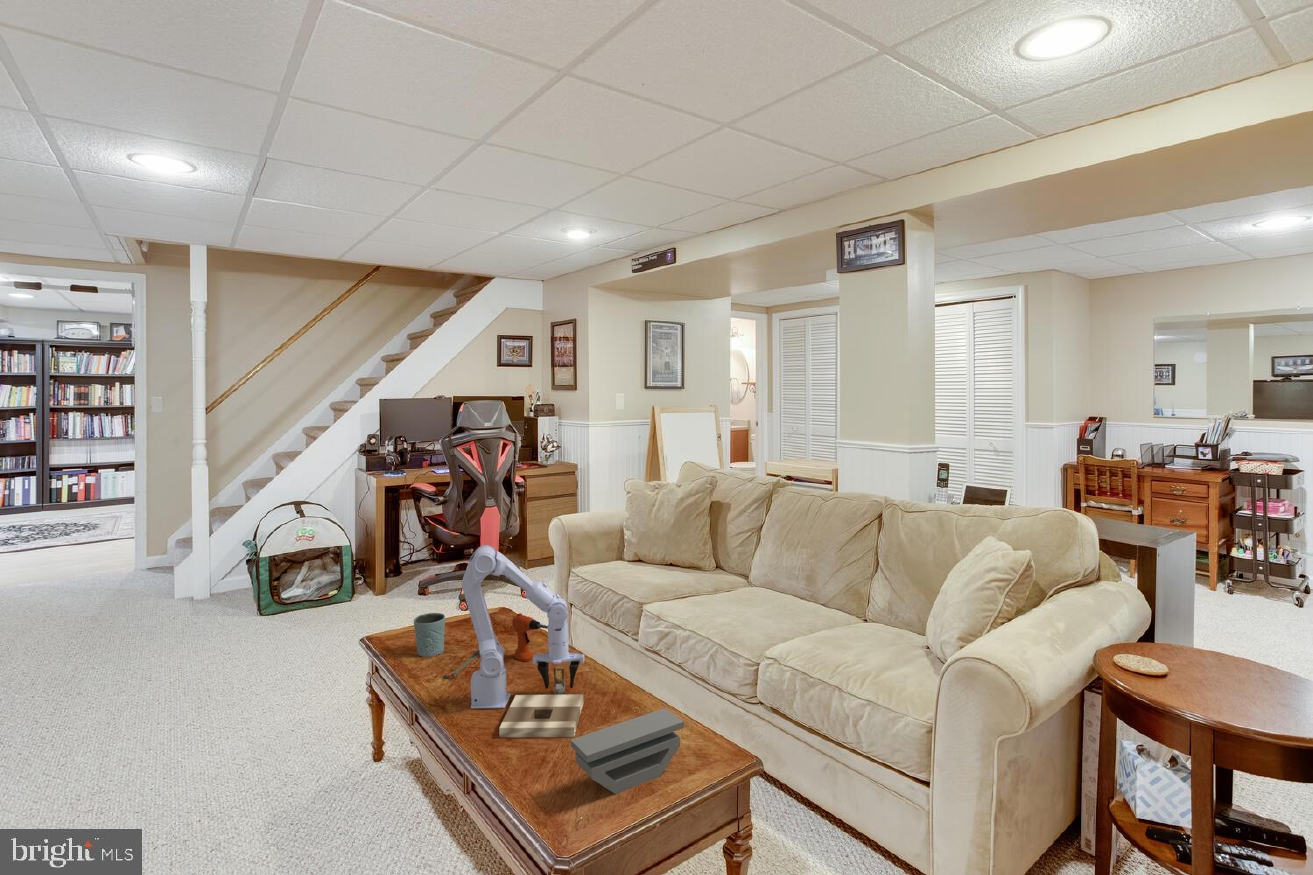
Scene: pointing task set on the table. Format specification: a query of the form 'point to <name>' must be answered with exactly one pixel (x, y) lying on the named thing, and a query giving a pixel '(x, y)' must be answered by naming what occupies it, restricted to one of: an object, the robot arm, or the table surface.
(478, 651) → the tomahawk
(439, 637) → the teal cup
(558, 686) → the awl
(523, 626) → the toy drill
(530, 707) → the board
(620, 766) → the grey tapered block
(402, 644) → the table surface
